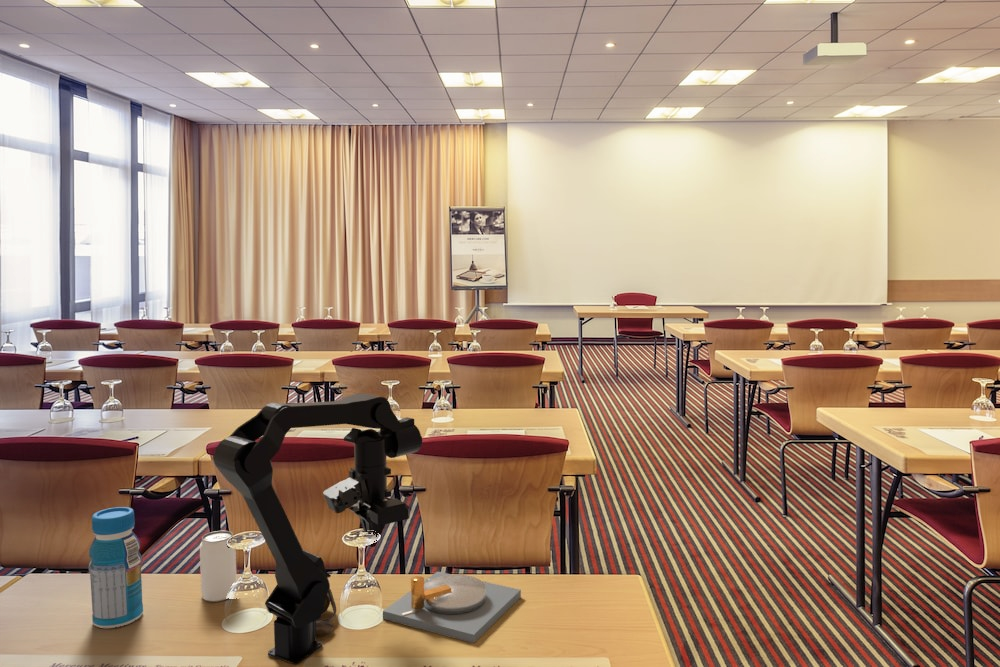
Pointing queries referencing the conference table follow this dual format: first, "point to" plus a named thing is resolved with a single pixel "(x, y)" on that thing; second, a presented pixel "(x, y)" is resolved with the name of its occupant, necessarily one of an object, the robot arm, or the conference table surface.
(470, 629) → the dial plate
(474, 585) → the dial
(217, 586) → the can
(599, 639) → the conference table surface
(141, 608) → the beverage bottle
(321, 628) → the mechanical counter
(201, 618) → the conference table surface
